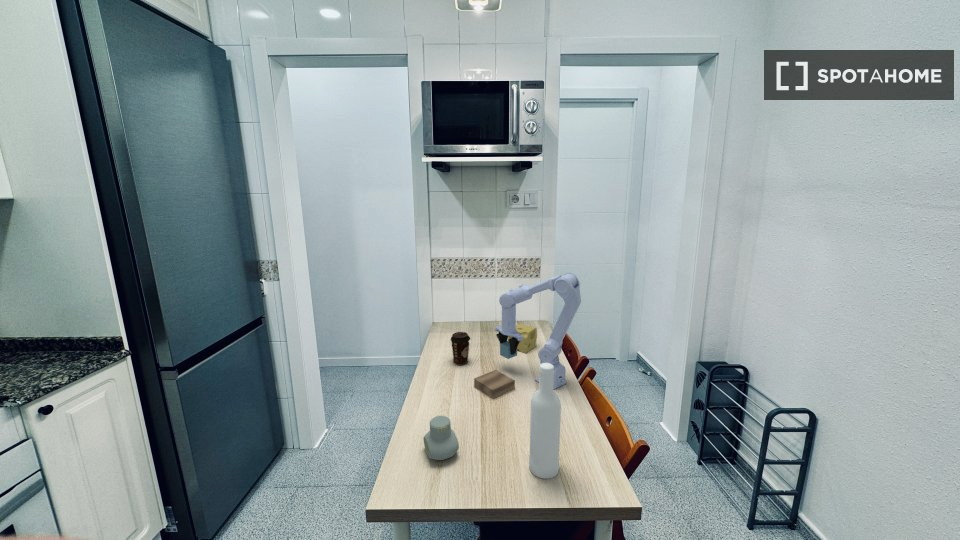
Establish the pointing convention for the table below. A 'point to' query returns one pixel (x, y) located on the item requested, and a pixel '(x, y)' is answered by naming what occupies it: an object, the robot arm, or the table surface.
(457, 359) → the coffee cup
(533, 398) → the bottle
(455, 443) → the air freshener
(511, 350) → the robot arm
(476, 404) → the table surface
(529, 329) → the cheese
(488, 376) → the plate
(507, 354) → the teal cube
